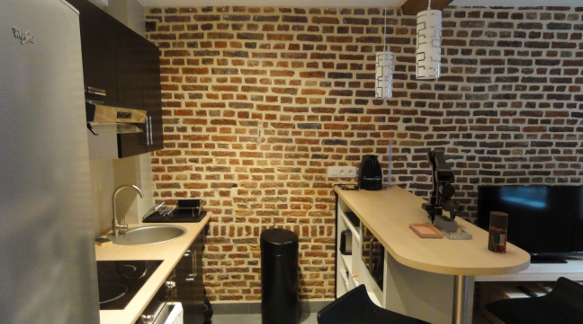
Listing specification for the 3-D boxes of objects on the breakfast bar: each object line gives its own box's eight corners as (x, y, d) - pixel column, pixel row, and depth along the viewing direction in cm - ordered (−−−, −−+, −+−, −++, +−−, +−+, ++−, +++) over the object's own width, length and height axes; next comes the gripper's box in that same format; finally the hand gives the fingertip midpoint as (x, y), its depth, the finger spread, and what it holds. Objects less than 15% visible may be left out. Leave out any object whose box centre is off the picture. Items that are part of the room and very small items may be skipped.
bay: (441, 232, 136) (441, 228, 135) (462, 233, 135) (462, 229, 135) (449, 239, 128) (450, 234, 128) (472, 239, 127) (472, 234, 127)
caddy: (434, 224, 147) (435, 215, 147) (445, 224, 147) (445, 215, 147) (444, 232, 136) (445, 222, 136) (456, 232, 136) (457, 222, 136)
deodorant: (498, 253, 112) (500, 216, 111) (484, 248, 118) (486, 212, 116) (509, 252, 114) (512, 214, 112) (495, 246, 119) (497, 210, 118)
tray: (409, 227, 144) (409, 223, 144) (428, 227, 144) (428, 223, 144) (421, 238, 129) (421, 233, 129) (442, 238, 129) (443, 233, 129)
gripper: (431, 196, 136) (429, 228, 138) (471, 196, 135) (469, 229, 137) (421, 191, 147) (420, 221, 149) (459, 191, 146) (457, 221, 148)
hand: (441, 223), depth 145 cm, fingers open, 9 cm apart
